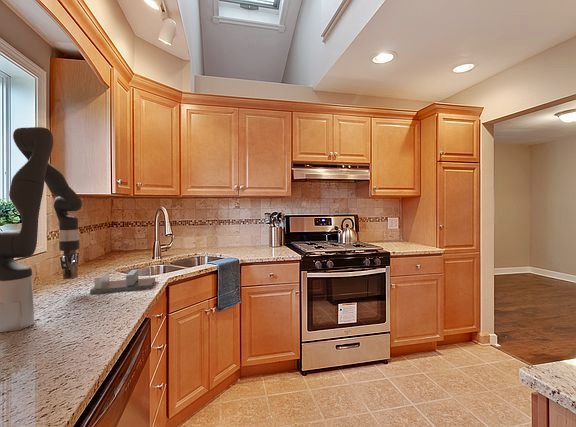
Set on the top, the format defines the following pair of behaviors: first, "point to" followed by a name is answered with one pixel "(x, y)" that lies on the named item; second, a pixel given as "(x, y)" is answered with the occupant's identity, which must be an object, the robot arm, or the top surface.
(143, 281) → the plate
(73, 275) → the walnut block
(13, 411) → the top surface
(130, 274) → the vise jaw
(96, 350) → the top surface
